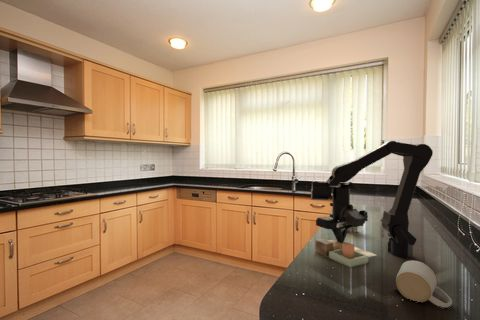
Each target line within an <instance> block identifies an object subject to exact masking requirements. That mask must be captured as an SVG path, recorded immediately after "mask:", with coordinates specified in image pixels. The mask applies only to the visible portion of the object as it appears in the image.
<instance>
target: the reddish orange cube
mask: <svg viewBox="0 0 480 320" xmlns="http://www.w3.org/2000/svg"><path fill="white" fill-rule="evenodd" d="M354 247H355V244H354V243H351V242H343V244H342V256H344V257H346V258H348V259H353V258H354Z"/></svg>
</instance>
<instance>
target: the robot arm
mask: <svg viewBox="0 0 480 320" xmlns="http://www.w3.org/2000/svg"><path fill="white" fill-rule="evenodd" d="M433 152H434V151H433V149H432V148H431V146H430V145H428V144H426V143H420V144H419V143H418V144H417V143H416V144H413V143H407V142H406V143H405V142H399V141H395V140H389V141H385V142H384V143H383V144H381V145H380V146H378V147H376V148H374V149H373V150H370V151H369V152H366V153H365V154H363V155H361V156H359V157H357V158H356V159H354V160H351V161H348V162H346V163H345V162H344V163H341V164H339V165H336V166H335V167H333V168H332V170H331V175H330V176H329V177H328V179H326V181H317V180H312V181H311V189H310V198H311V201H328V200H329V199H331V198H332V202H330V203H329V206H330V207H332V213H330V214H329V216H328V217H327V216H322V217H321V216H320V217H317V218H316V219H315V226H317V227H320V228H323V229H325V230H331V231H332V233H333V235H334V237H335V240H336V241H337V242H340V243H345V240H346V237H347V235H348V233H349V232H348V230H349V229H351V228H353V227H357V228H358V227H363V226H364V224H366V222H368V220H369V219H368V218H369V217H368V211H366V210H364V209H362V210H357V211H355V210H353V207H354V205H353V204H351V201H350V200H351V190H356V189H357V186H355V185H354V184H353V182H352V181H351V180H352V179H354V177H356V175H358V174H359V173H360V172H361V171H362V170H363V169H366V168H367V167H369V166H370V165H373V164H374V163H377V162H378V161H380V160H382V159H384V158H385V157H387V156H390V155H392V154H393V155H396V156H399V157H403V158H402V162H403V172H402V174H401V178H400V181H399V184H398V187H397V191H396V194H395V197H394V200H393V204H392V207H391V209H389V211H386V210H383V211H382V212H383V215H382V218H381V219H380V222H381V227H382V229H383V230H384V232H386V234H387V235H388V237H389V238H388V241H387V252H388V253H390V254H391V255H392V256H395V257H399V258H404V259H411V258H413V257H414V245H415V244H416V242H417V238H416V237H415V236H414V235H413V234H412V233H411V232H409V226H410V221H409V209H410V206H411V204H412V200H413V197H414V193H415V191H416V187H417V184H418V182H419V179H420V175H421V172H422V171H423V170H424V169H425V168H426V166H428V164H429V163H430V160H431V159H432V157H433V155H434V154H433Z"/></svg>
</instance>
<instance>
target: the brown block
mask: <svg viewBox="0 0 480 320" xmlns="http://www.w3.org/2000/svg"><path fill="white" fill-rule="evenodd" d="M315 251H316V252H315ZM329 251H333V243H332V242H329V241H328V240H326V239H324V238H319V239H318V238H317V239H315V250H314V252H315V253H317V254H320V255H322V256H324V257H326V258H328V257H327V256H329Z"/></svg>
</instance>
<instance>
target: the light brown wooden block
mask: <svg viewBox="0 0 480 320" xmlns="http://www.w3.org/2000/svg"><path fill="white" fill-rule="evenodd" d="M327 241H329V242H332V243H333V250H338V249H342V244H343V243H344V242H343V243H340V242H337V240H336V239H335V240H334V239H330V240H329V239H328V240H327Z"/></svg>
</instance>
